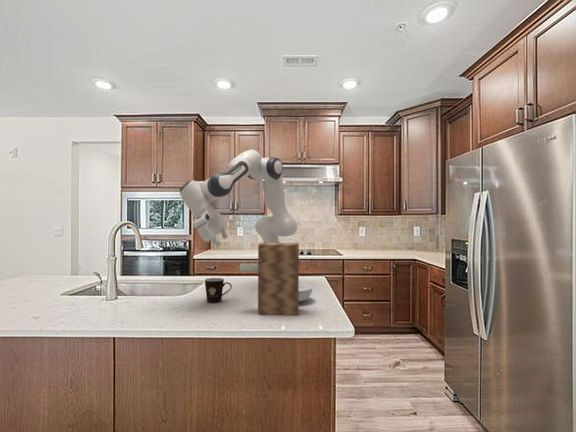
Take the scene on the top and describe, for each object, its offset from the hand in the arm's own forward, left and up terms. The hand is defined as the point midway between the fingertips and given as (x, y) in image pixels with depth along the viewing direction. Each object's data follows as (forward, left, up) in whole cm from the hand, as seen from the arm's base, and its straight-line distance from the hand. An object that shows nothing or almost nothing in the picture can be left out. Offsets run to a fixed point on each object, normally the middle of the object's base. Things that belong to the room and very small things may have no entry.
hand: (222, 241), depth 157 cm
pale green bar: (-2, +23, -11) cm, 25 cm away
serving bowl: (-23, +21, -28) cm, 42 cm away
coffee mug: (-3, -6, -28) cm, 29 cm away
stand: (-5, +27, -28) cm, 39 cm away
